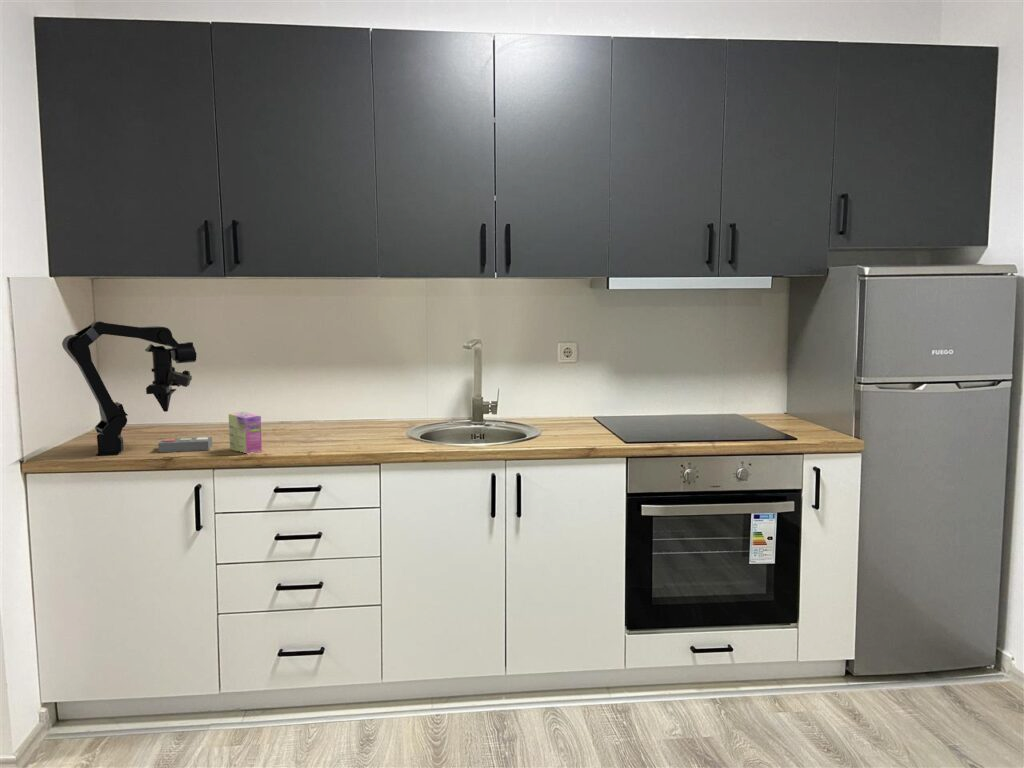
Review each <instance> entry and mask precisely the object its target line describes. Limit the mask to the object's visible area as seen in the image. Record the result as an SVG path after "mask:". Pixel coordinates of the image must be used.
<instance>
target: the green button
mask: <svg viewBox="0 0 1024 768" xmlns="http://www.w3.org/2000/svg"><path fill="white" fill-rule="evenodd" d="M180 438H181V439H180V440H179V441H191V440H192V438H191V437H180Z"/></svg>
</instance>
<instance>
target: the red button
mask: <svg viewBox="0 0 1024 768" xmlns="http://www.w3.org/2000/svg"><path fill="white" fill-rule="evenodd" d="M164 439H165V440H163V439H162V440H163V442H174V441H175V440H176V439H166V438H164Z"/></svg>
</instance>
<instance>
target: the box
mask: <svg viewBox="0 0 1024 768" xmlns="http://www.w3.org/2000/svg"><path fill="white" fill-rule="evenodd" d="M228 429H229V431H228V432H229V433H228V435H229V449H230V450H231V451H235V452H238V451H240V452H239V453H241V452H243V453H242V454H244V453H251V452H257V453H259V452H258V451H262V452H263V447H262V445H263V443H262V442H263V441H262V416H261V415H257V414H253V413H249V412H244V411H242V412H236V413H235V412H234V413H229V414H228Z"/></svg>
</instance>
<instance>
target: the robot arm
mask: <svg viewBox="0 0 1024 768" xmlns="http://www.w3.org/2000/svg"><path fill="white" fill-rule="evenodd" d="M102 335H109V336H115V337H123V338H124V337H125V338H132V339H133V338H134V339H140V340H144V341H146V342H150V343H149V345H148V346H147V347H146V348H145V349H144V351H145V352H147V353H152V355H151V356H152V366H153V367H152V368H151V372H152V373H153V380H152V381H151V384H148V385H147V386H146V387H145V392H146V395H153V396H154V398H155V399H156V400H157V402H158V404H159V405H160V408H161V409H162V411H163V412H164V413H166V412H168V411H169V408H170V403H171V402H170V401H171V398H172V397H171V396H172V395H173V394H174V393H175V391H177V388H172V387H175V386H176V387H178V388H179V387H181V386H182V387H184V388H185V387H186V388H187V387H188V386H190V383H191V381H192V379H193V376H192V375H191V373H190V370H186V369H185V370H183V371H181V372H180V371H179V372H178V371H176V368H175V367H174V366H173V361H174V362H175V363H176V364H186V363H187V364H189V363H195V362H196V361H197V352H196V347H194V342H193V341H187V342H179V343H178V341H177V340H176V339H175V337H174V336H173V333H172V331H171V330H170V328H168V327H165V326H159V325H155V326H154V325H153V326H151V325H150V326H134V325H127V324H126V325H125V324H118V323H117V324H116V323H109V322H104V321H99V320H97V321H93V322H92V323H91V324H89V325H88V326H86V327H84V328H82V329H80V330H79V331H77V332H75V334H69V335H67V336H65V337H64V338H63V340H62V343H61V344H62V345H61V346H62V348H63V350H64V352H66V353H67V355H68V356H69V358H70V359H72V361H73V362H74V363H75V364H76V365H77V366H78V368H79V371H80V373H81V374H82V376H83V378H84V380H85V382H86V383H87V385H88V387H89V389H90V391H91V393H92V395H93V397H94V399H95V400H96V402H97V404H98V409H99V415H100V417H101V420H100V421H99V422H98V423H97V424H96V426H94V428H95V431H96V433H97V434H96V442H97V443H96V444H97V453H96V455H95V456H108V455H109V456H111V455H115V456H116V455H119V454H121V453H122V452H123V451H124V449H125V447H124V438H123V436H121V435H122V432H123V428H125V427H126V425H127V423H128V413H126V411H125V408H124V405H123V404H122V403H120V402H117V401H116V402H115V401H114V400H113V399H112V397H111V395H110V394H109V391H108V389H107V387H106V385H105V383H104V382H103V380H102V378H101V375H100V374H99V372H98V370H97V368H96V366H95V364H94V362H93V360H92V359H93V358H92V353H91V350H90V345H91V344H93V343H94V342H95V341H96V340H97V339H98V338H100V337H101V336H102ZM152 343H153V344H152ZM154 344H158V345H156V346H155V345H154ZM165 346H166V347H168V348H165ZM169 347H170V348H169Z"/></svg>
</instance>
